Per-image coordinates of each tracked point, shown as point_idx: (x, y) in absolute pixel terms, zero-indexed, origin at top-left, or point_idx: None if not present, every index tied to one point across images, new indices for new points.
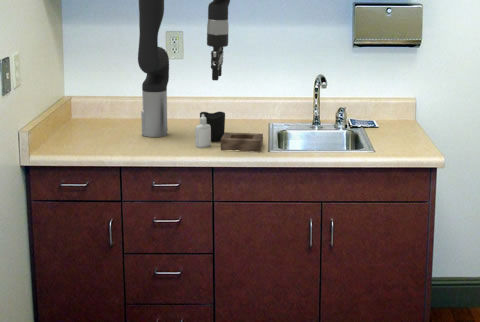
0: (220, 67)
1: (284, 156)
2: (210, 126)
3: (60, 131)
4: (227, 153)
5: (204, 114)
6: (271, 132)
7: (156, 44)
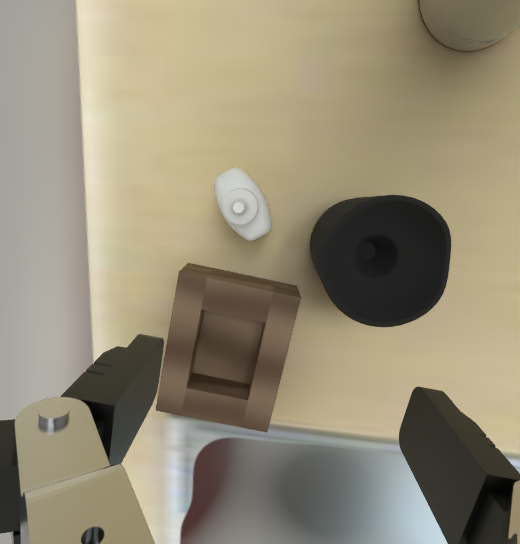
0: (447, 523)
1: None
2: (249, 240)
3: None
4: (148, 283)
5: (426, 222)
6: None
7: None
